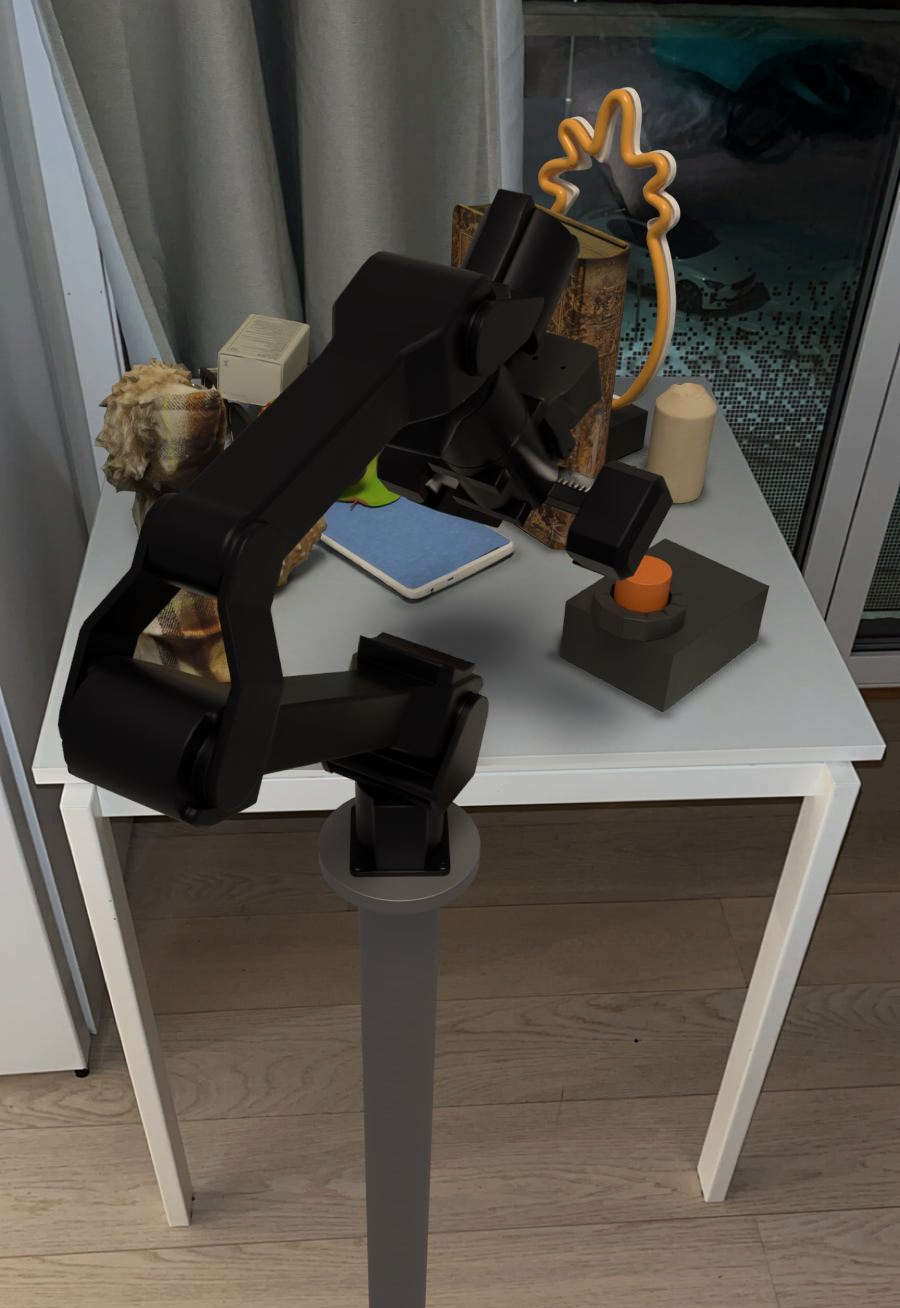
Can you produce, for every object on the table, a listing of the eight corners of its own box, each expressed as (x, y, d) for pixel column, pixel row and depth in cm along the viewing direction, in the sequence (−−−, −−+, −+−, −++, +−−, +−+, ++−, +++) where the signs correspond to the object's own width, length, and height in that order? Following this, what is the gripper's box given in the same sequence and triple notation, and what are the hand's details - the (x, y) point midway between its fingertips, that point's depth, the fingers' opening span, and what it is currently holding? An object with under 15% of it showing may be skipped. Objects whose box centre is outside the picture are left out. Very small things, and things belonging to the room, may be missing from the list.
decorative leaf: (423, 495, 115) (423, 504, 116) (396, 444, 121) (396, 453, 121) (339, 508, 113) (340, 517, 114) (316, 455, 119) (316, 464, 120)
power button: (646, 620, 94) (651, 590, 92) (602, 598, 96) (606, 569, 94) (677, 598, 96) (683, 569, 94) (634, 577, 98) (639, 548, 96)
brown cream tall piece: (84, 737, 91) (112, 397, 76) (66, 633, 100) (88, 314, 86) (278, 738, 96) (339, 421, 81) (243, 640, 106) (292, 340, 91)
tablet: (518, 553, 112) (520, 540, 111) (411, 606, 105) (411, 592, 104) (374, 470, 122) (374, 457, 121) (268, 513, 116) (267, 500, 115)
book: (605, 535, 115) (642, 248, 98) (560, 554, 112) (590, 263, 95) (488, 462, 124) (503, 189, 107) (443, 479, 122) (451, 201, 105)
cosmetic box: (248, 355, 129) (214, 398, 120) (250, 310, 126) (215, 351, 117) (310, 366, 129) (280, 411, 119) (313, 322, 126) (283, 364, 117)
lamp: (490, 426, 130) (509, 74, 108) (551, 401, 134) (582, 59, 113) (612, 490, 121) (660, 121, 99) (674, 462, 125) (732, 103, 104)
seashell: (249, 578, 114) (298, 481, 109) (296, 634, 110) (349, 536, 105) (163, 567, 107) (211, 463, 102) (209, 626, 103) (262, 522, 98)
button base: (655, 717, 96) (669, 641, 91) (551, 661, 101) (559, 585, 96) (757, 640, 104) (774, 566, 99) (656, 591, 108) (668, 518, 104)
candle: (683, 510, 119) (700, 408, 112) (632, 491, 121) (646, 390, 114) (711, 487, 122) (730, 387, 115) (661, 469, 124) (677, 369, 118)
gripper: (690, 341, 69) (735, 481, 83) (415, 263, 77) (498, 402, 91) (593, 521, 68) (655, 630, 82) (325, 422, 76) (423, 538, 90)
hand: (555, 542), depth 87 cm, fingers open, 9 cm apart
